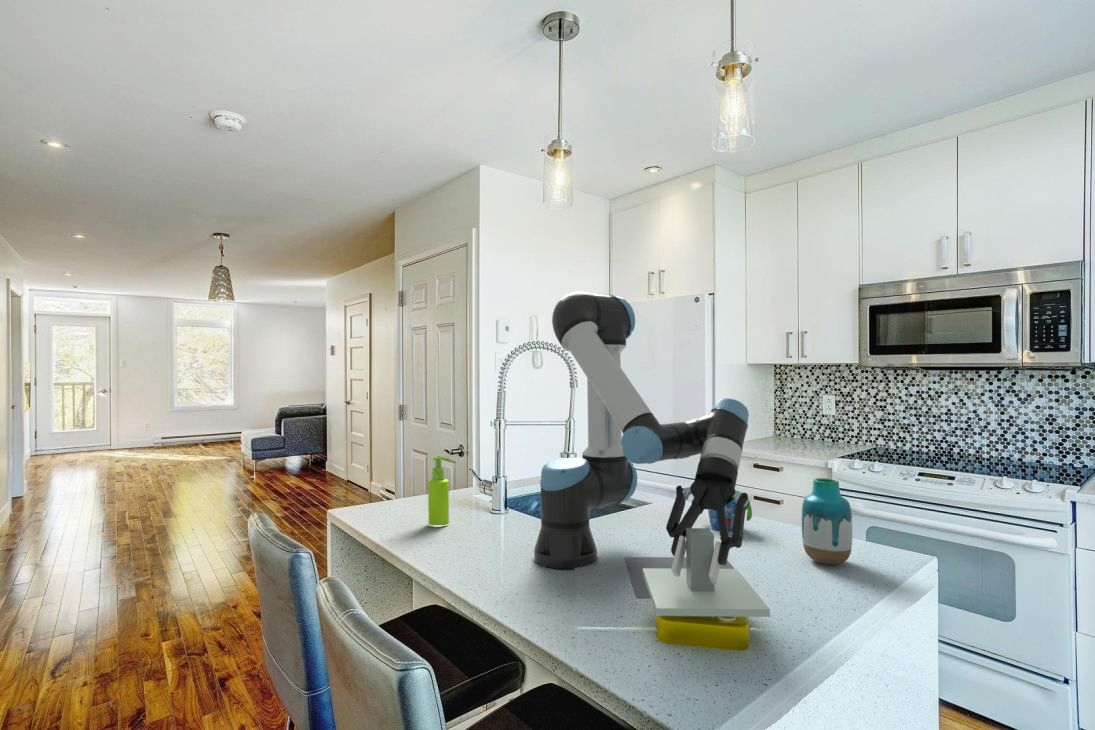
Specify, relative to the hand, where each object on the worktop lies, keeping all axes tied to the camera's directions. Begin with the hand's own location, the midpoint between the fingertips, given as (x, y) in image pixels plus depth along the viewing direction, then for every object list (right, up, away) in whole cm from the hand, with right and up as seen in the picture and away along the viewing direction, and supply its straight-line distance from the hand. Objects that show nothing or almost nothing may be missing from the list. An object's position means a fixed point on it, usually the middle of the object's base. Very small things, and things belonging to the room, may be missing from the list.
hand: (693, 576), depth 96 cm
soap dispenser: (-57, -11, +69) cm, 90 cm away
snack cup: (+25, -10, +63) cm, 69 cm away
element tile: (+2, -11, +3) cm, 11 cm away
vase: (+40, -10, +35) cm, 54 cm away
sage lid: (+2, -4, +3) cm, 6 cm away
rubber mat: (+5, -10, +26) cm, 28 cm away
